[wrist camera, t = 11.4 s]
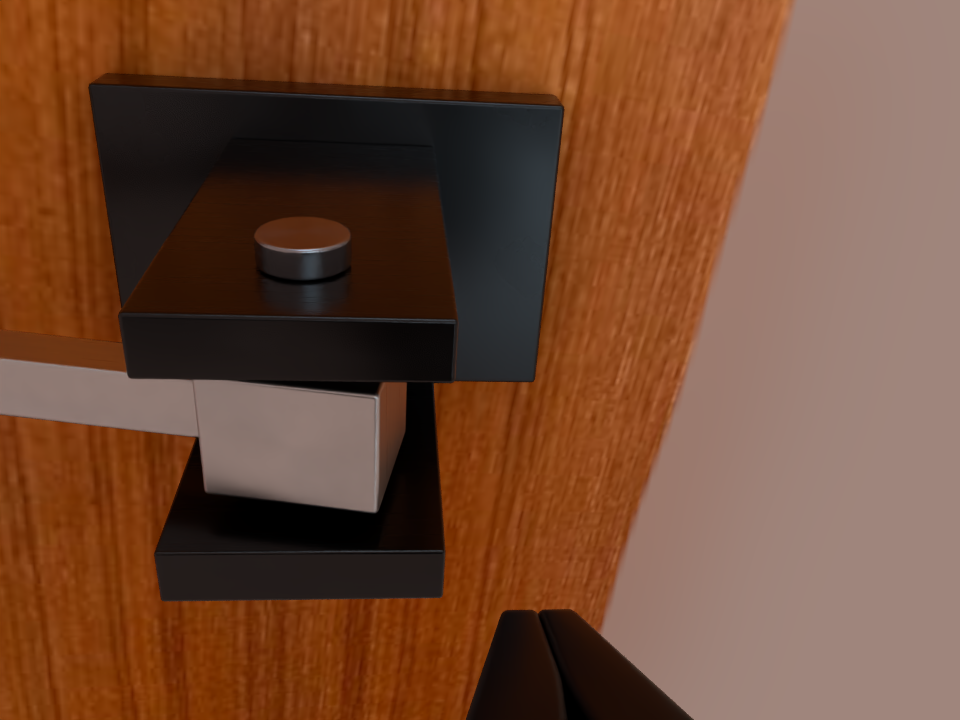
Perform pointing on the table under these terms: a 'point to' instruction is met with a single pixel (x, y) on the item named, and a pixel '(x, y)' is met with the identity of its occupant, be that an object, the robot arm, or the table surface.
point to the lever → (221, 420)
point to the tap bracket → (324, 290)
